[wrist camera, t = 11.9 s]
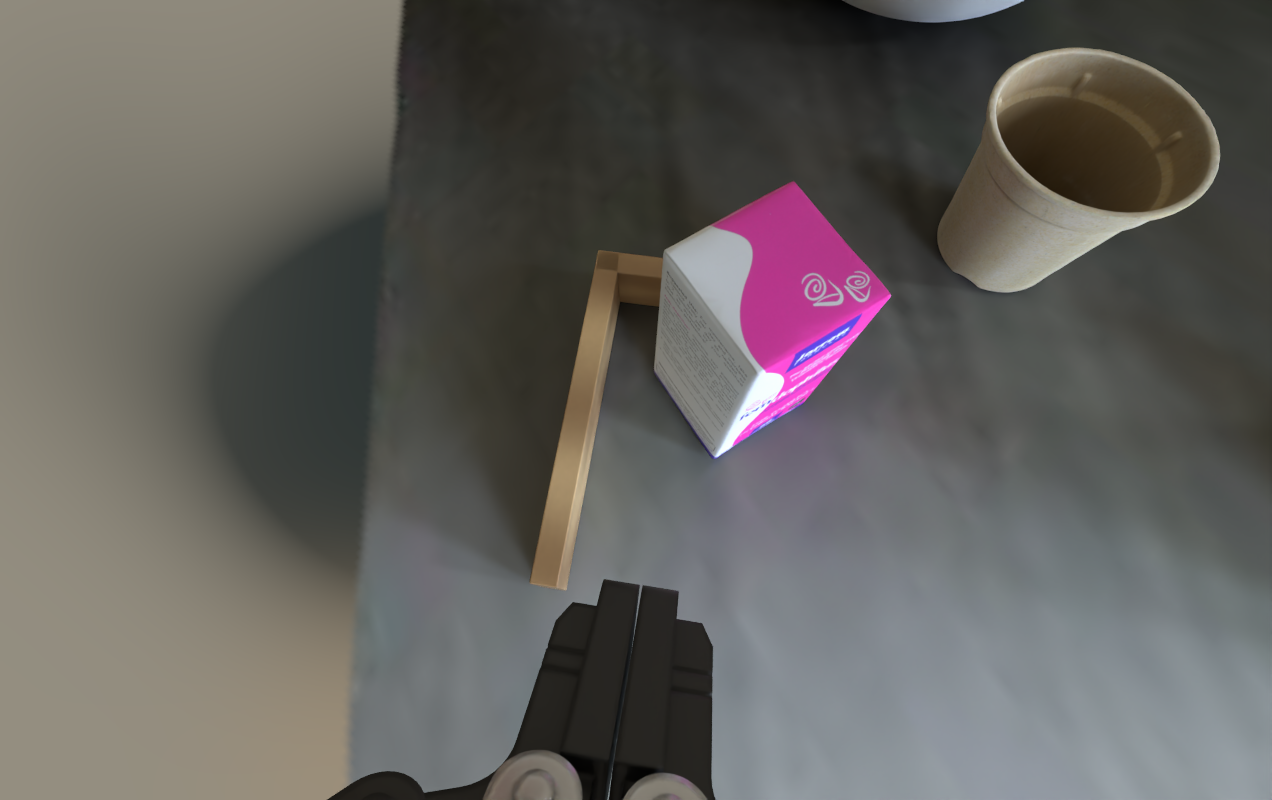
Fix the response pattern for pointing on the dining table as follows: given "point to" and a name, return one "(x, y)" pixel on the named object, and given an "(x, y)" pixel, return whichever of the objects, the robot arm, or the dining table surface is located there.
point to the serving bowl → (932, 8)
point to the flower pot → (1073, 165)
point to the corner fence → (587, 406)
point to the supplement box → (758, 315)
